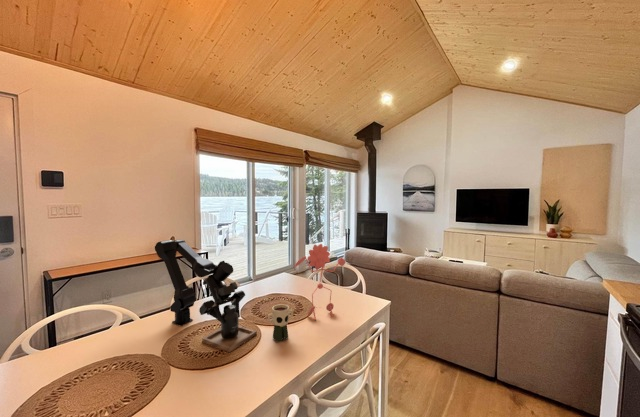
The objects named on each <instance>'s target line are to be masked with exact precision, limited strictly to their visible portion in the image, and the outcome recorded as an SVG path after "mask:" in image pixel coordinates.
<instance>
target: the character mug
mask: <svg viewBox="0 0 640 417" xmlns="http://www.w3.org/2000/svg"><path fill="white" fill-rule="evenodd" d="M293 317H294V309H290V306H289V305H288V304H275V305H273V306H272V307H271V313H268V314H267V322H268V323H272V325H274V326H273V332H272V339H273V340H274V341H276V342H282V341H283V340H284V341H286V340H287V339H288V338H289V331H288V326H287V325H288V324H289V322H290V318H291V319H292V318H293Z"/></svg>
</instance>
